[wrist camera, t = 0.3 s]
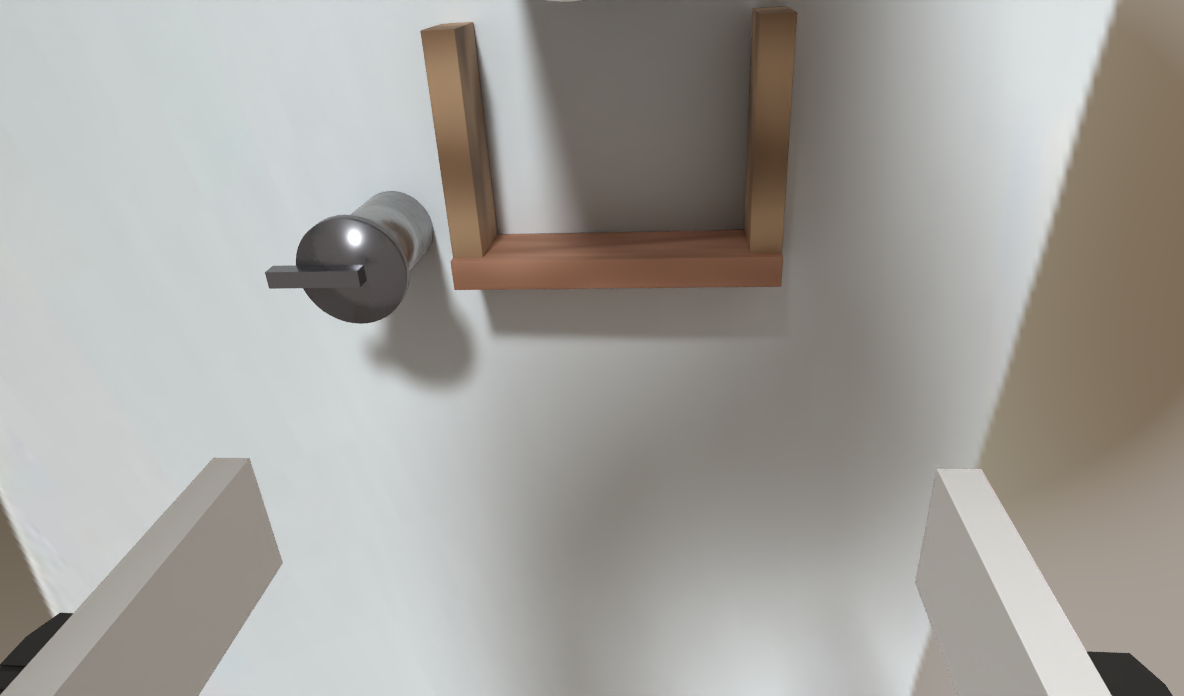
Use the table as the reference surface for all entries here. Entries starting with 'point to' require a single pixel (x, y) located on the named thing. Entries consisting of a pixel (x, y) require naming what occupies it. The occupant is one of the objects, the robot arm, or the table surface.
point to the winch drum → (360, 258)
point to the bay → (611, 254)
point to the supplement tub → (563, 0)
